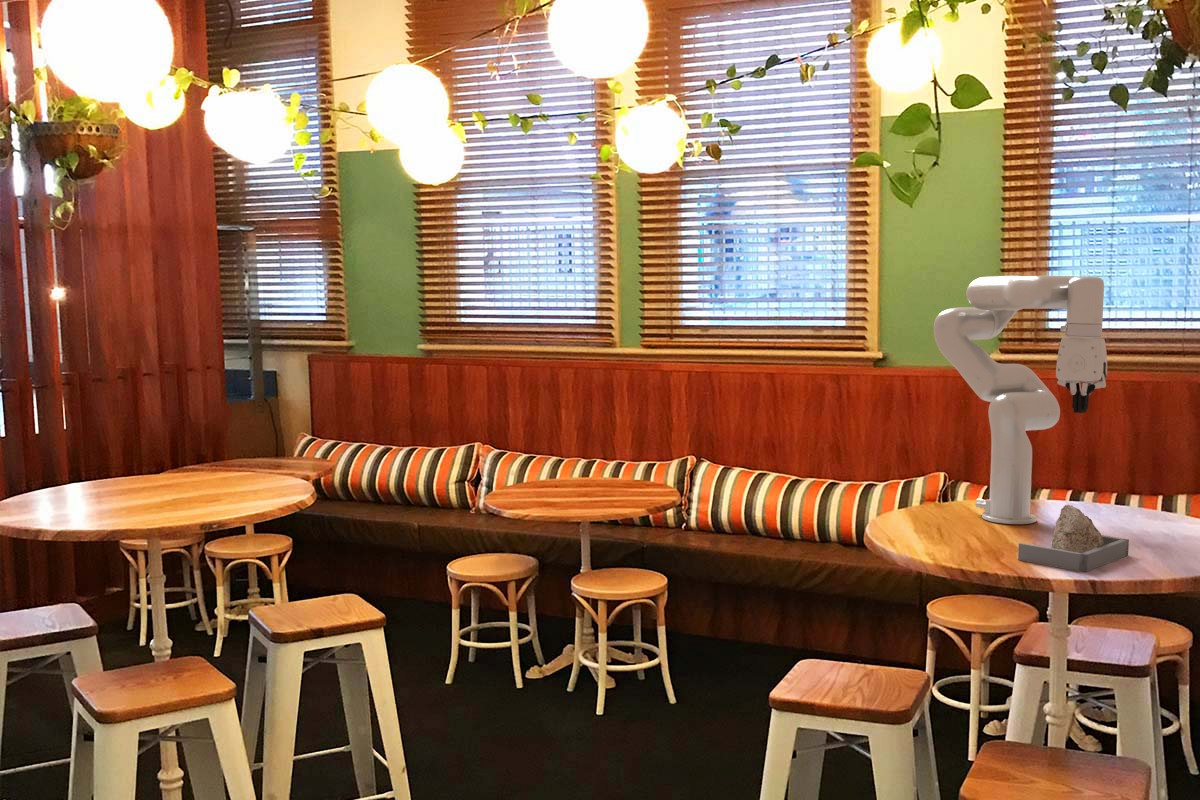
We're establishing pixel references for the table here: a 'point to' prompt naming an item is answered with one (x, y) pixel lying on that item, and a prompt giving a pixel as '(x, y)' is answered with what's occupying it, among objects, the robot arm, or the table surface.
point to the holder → (1075, 555)
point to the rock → (1075, 532)
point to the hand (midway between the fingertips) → (1080, 412)
